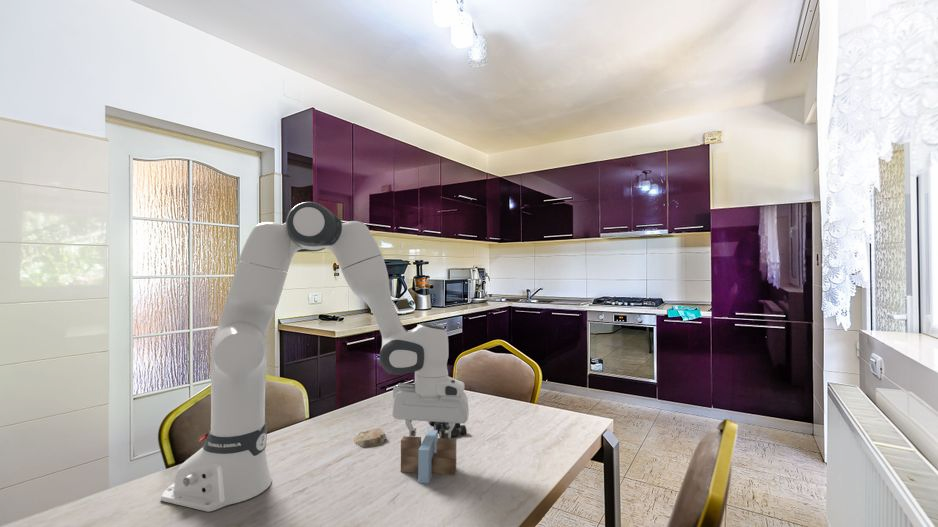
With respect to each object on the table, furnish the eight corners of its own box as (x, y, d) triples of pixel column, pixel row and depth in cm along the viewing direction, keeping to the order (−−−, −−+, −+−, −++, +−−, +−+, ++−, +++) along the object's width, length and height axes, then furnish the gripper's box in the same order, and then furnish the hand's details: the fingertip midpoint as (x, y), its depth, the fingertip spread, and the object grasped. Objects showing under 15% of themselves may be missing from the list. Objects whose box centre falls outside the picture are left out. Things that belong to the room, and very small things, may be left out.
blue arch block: (428, 483, 97) (428, 450, 97) (418, 482, 97) (418, 449, 97) (437, 460, 109) (437, 430, 109) (428, 459, 109) (428, 429, 109)
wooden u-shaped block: (400, 471, 102) (400, 440, 103) (403, 467, 105) (403, 436, 105) (455, 474, 101) (455, 442, 101) (456, 469, 103) (456, 438, 104)
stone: (356, 449, 116) (356, 440, 116) (352, 440, 122) (352, 432, 122) (386, 443, 120) (387, 435, 120) (381, 435, 126) (381, 427, 126)
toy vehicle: (450, 421, 139) (450, 396, 139) (467, 436, 125) (466, 408, 125) (428, 425, 135) (427, 399, 136) (442, 441, 122) (441, 411, 122)
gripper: (389, 385, 105) (388, 439, 105) (467, 390, 103) (466, 444, 102) (396, 379, 111) (395, 429, 111) (470, 383, 109) (469, 434, 109)
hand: (430, 437), depth 107 cm, fingers open, 8 cm apart
